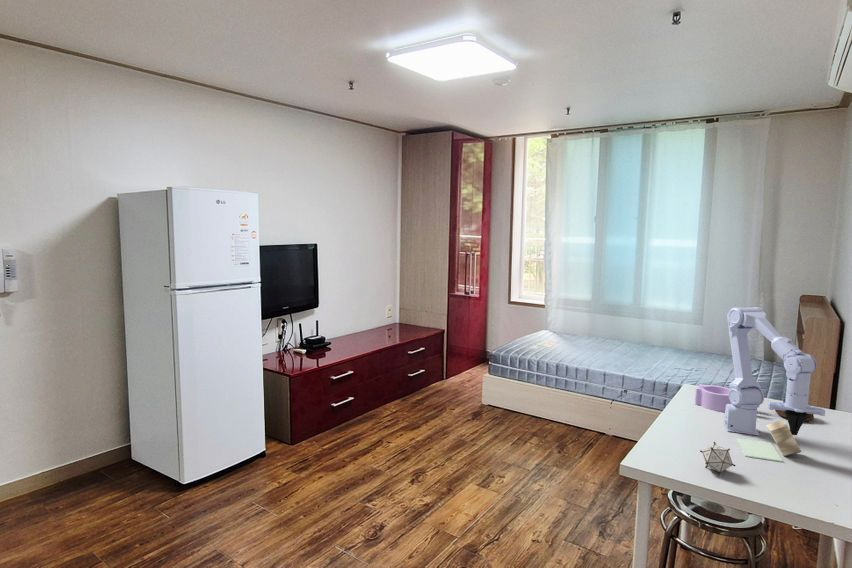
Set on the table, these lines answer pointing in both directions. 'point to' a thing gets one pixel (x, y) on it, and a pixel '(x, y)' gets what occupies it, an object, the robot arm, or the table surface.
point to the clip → (712, 397)
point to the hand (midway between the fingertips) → (793, 433)
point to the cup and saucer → (780, 412)
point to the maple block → (783, 438)
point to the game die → (717, 458)
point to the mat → (758, 450)
